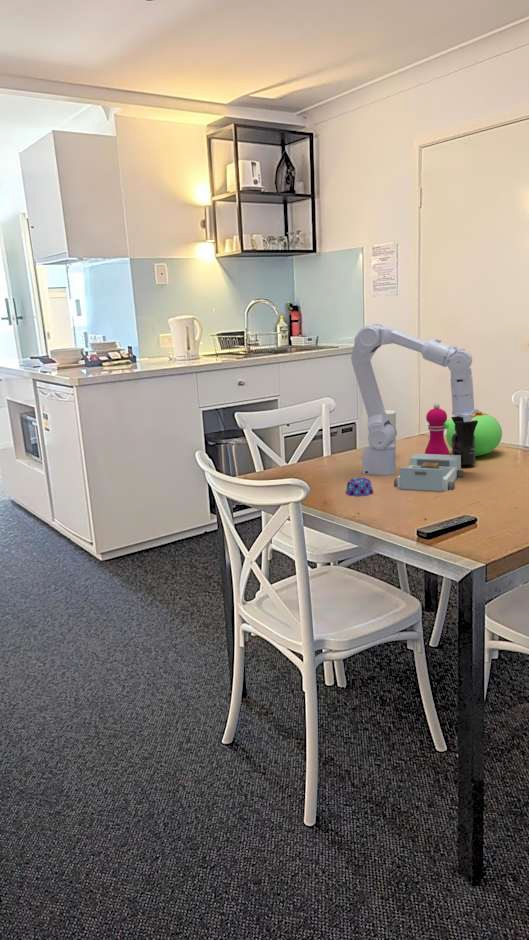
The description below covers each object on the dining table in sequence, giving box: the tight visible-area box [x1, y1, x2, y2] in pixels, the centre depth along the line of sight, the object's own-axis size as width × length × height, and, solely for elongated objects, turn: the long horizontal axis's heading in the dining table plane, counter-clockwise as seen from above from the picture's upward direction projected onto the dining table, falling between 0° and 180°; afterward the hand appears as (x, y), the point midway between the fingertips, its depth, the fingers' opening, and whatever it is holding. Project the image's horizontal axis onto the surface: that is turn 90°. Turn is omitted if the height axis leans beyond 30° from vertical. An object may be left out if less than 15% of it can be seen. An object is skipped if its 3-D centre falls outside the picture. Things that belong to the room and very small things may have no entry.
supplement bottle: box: [451, 426, 476, 465], centre depth 202 cm, size 7×7×12 cm
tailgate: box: [398, 466, 444, 493], centre depth 175 cm, size 11×6×1 cm
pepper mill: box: [424, 402, 450, 455], centre depth 199 cm, size 7×7×20 cm
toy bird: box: [444, 410, 503, 457], centre depth 214 cm, size 18×17×15 cm
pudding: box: [345, 477, 374, 498], centre depth 177 cm, size 12×12×5 cm
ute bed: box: [393, 453, 465, 492], centre depth 184 cm, size 16×19×6 cm
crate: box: [421, 462, 439, 469], centre depth 184 cm, size 4×4×4 cm
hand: (465, 443), depth 185 cm, fingers open, 7 cm apart
